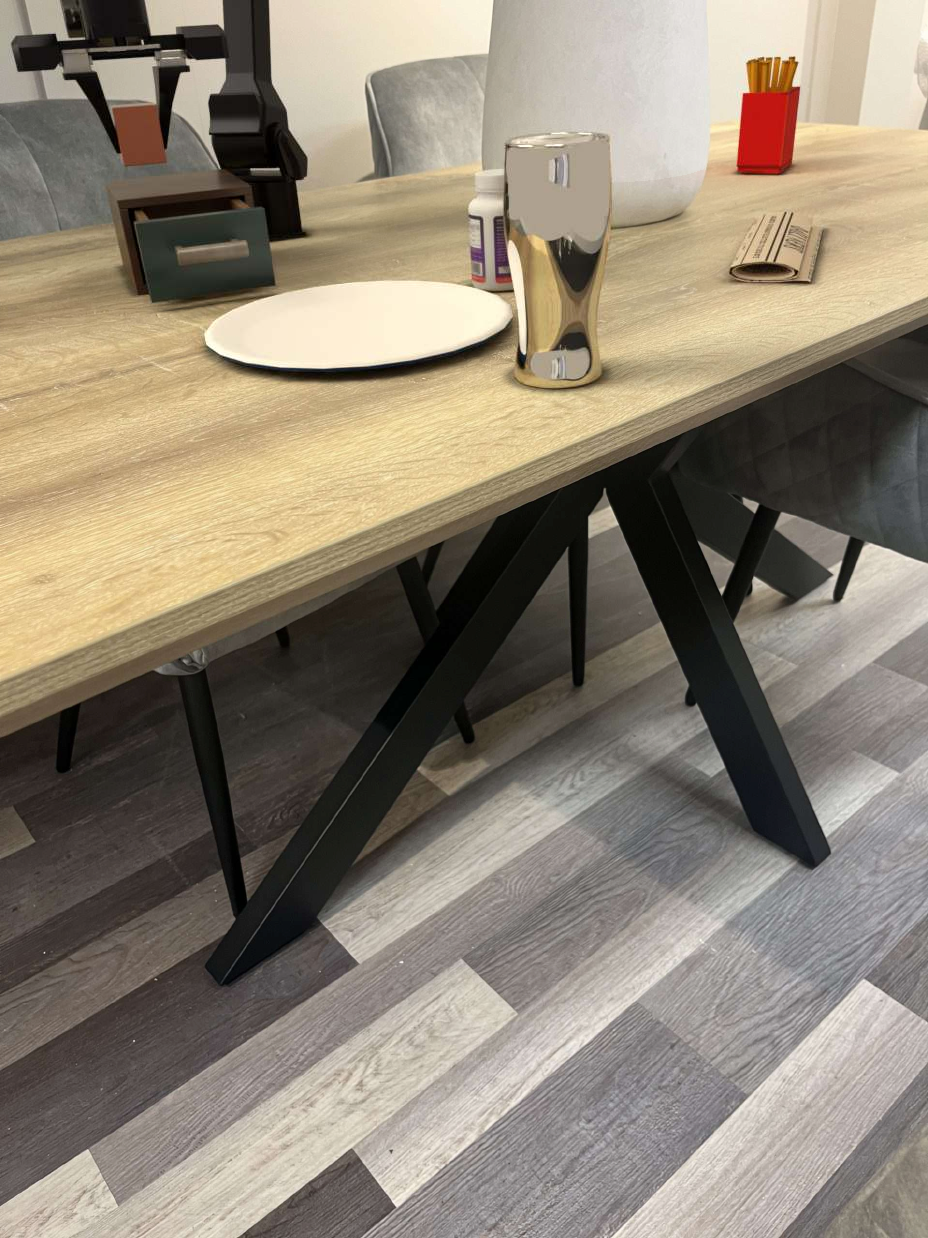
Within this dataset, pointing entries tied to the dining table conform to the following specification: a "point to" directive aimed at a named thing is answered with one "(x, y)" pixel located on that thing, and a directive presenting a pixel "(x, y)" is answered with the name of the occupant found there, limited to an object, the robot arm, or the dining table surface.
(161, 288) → the drawer
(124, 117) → the block
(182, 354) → the dining table surface
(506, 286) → the pill bottle
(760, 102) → the french fries container
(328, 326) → the plate
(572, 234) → the beer glass
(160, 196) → the cabinet
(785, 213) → the newspaper
